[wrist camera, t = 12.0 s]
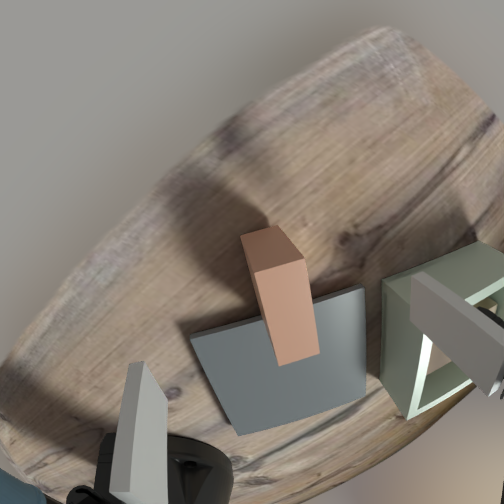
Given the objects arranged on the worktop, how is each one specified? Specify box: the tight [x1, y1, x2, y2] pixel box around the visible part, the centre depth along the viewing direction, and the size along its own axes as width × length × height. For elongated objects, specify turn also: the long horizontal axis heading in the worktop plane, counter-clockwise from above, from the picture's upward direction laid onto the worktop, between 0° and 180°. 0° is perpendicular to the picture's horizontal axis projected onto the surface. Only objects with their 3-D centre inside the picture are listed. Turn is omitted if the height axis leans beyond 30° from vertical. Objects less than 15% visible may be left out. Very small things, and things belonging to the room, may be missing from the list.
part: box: [426, 342, 452, 375], centre depth 22 cm, size 4×4×4 cm
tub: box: [379, 241, 504, 421], centre depth 22 cm, size 12×12×6 cm
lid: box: [190, 225, 366, 436], centre depth 20 cm, size 13×19×6 cm
